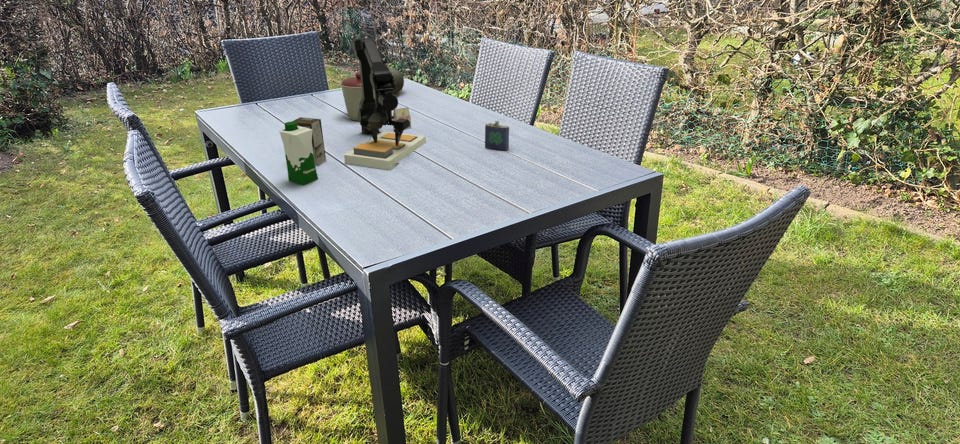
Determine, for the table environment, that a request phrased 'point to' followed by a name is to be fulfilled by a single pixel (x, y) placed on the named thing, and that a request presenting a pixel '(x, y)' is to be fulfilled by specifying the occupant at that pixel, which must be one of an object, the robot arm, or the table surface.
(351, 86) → the canister
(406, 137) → the orange cabinet drawer
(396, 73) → the gourd
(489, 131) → the flask
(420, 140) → the cream board with panels
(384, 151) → the switch
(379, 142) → the orange drawer
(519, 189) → the table surface
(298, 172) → the milk carton
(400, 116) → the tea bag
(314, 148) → the coffee box
